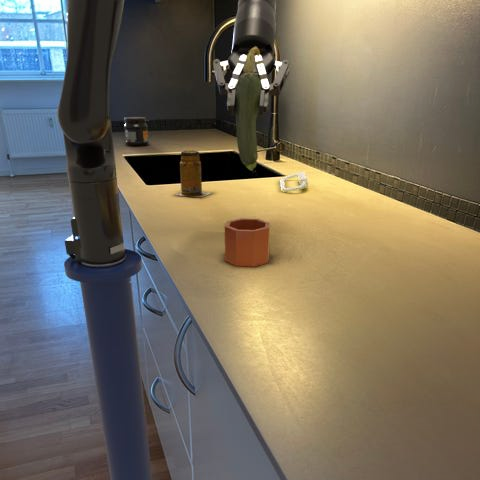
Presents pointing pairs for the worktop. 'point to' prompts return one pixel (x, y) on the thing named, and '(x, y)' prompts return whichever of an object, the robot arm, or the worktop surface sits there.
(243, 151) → the vegetable
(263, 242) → the utensil pot
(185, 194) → the condiment
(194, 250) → the worktop surface
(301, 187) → the white open frame
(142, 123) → the supplement container
